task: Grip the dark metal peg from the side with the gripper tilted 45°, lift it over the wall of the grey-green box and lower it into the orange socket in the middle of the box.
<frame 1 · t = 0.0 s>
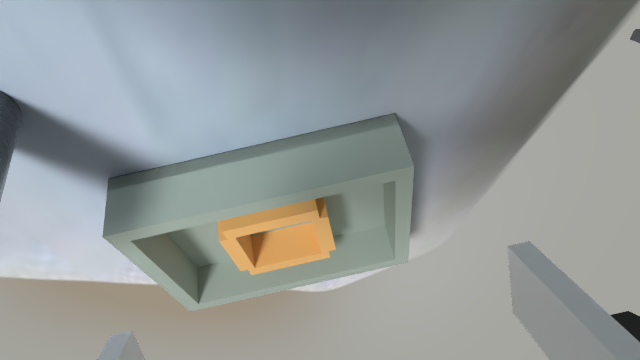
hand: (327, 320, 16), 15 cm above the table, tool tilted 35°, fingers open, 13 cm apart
walled box: (274, 202, 37), on the table
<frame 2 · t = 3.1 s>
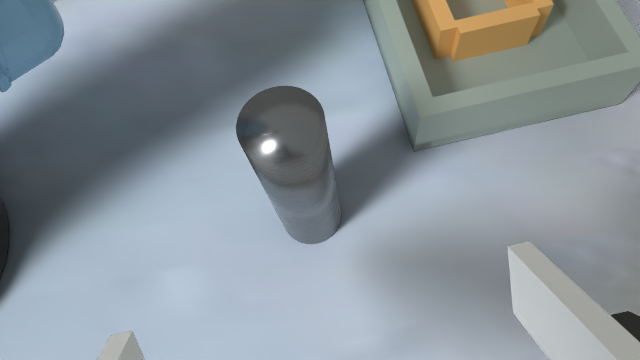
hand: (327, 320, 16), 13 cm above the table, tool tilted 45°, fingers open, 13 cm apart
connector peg: (311, 215, 31), on the table
walled box: (469, 23, 37), on the table
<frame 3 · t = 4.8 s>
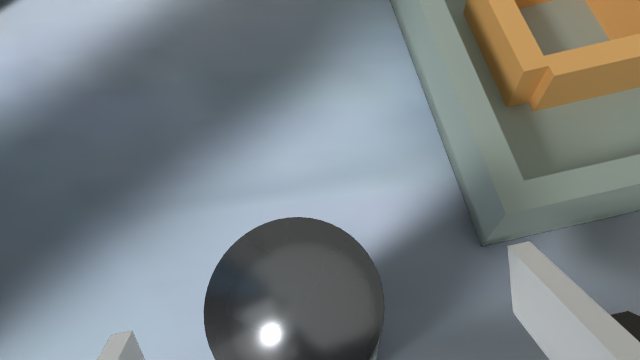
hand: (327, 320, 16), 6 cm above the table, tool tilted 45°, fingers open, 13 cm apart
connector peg: (333, 347, 21), on the table
walled box: (547, 53, 26), on the table
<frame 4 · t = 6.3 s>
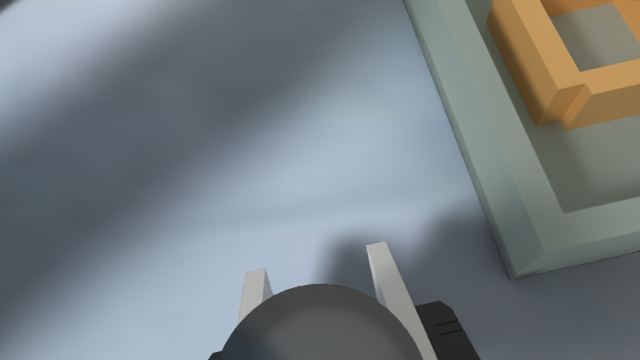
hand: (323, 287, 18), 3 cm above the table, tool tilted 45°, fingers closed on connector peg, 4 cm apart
walled box: (577, 66, 24), on the table
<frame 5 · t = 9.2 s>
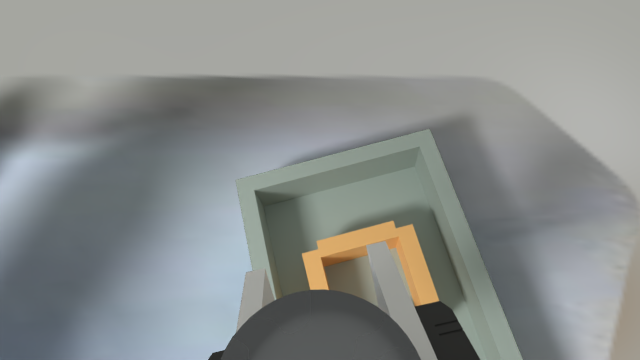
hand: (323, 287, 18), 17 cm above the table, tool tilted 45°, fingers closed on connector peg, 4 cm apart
walled box: (370, 296, 34), on the table
when the fingers open (6 cm above the table, at t = 11.9 s): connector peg drops 1 cm, resting on walled box.
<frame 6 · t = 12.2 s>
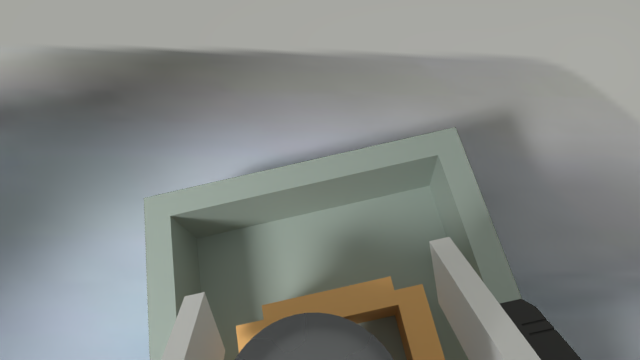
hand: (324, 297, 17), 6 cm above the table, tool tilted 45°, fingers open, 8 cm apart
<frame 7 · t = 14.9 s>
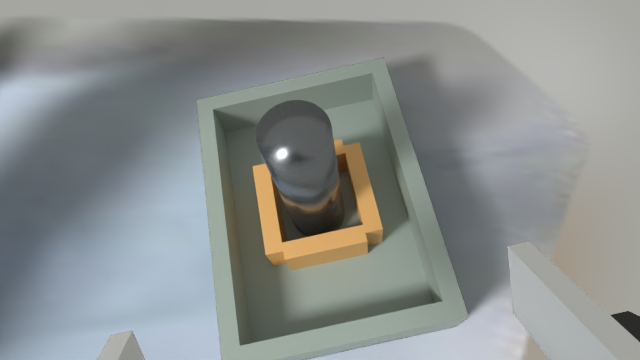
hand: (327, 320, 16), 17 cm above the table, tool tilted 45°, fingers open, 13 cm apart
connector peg: (318, 213, 35), point 1 cm above the table, touching walled box
walled box: (320, 215, 36), on the table
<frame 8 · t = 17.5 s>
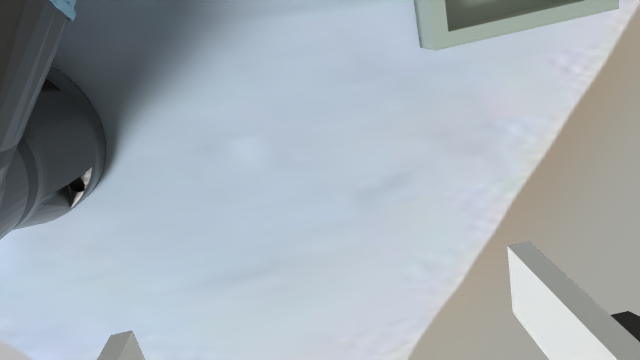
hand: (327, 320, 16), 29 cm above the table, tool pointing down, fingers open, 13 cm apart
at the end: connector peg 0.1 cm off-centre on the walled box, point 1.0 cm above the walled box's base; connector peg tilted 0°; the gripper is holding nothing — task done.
